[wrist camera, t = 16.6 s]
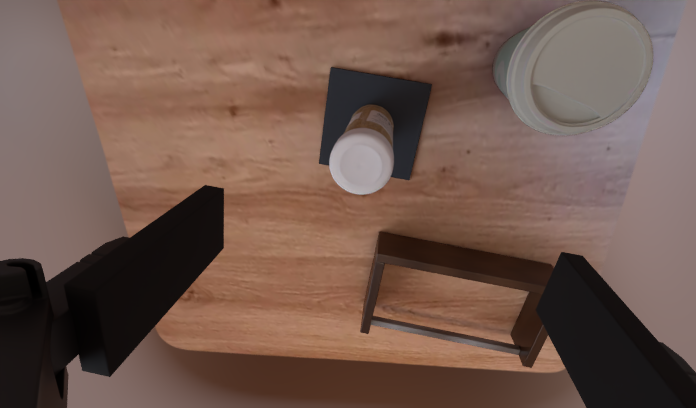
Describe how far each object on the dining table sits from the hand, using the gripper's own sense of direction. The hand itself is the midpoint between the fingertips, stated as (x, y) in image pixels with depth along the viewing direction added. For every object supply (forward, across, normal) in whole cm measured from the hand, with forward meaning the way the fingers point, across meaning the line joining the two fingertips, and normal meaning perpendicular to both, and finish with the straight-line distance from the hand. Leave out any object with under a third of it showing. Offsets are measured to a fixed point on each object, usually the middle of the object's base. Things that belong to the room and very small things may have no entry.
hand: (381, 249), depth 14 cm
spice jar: (+25, -2, 0) cm, 25 cm away
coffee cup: (+26, +11, +8) cm, 29 cm away
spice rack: (+26, +11, -18) cm, 33 cm away
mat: (+25, -2, 0) cm, 25 cm away
